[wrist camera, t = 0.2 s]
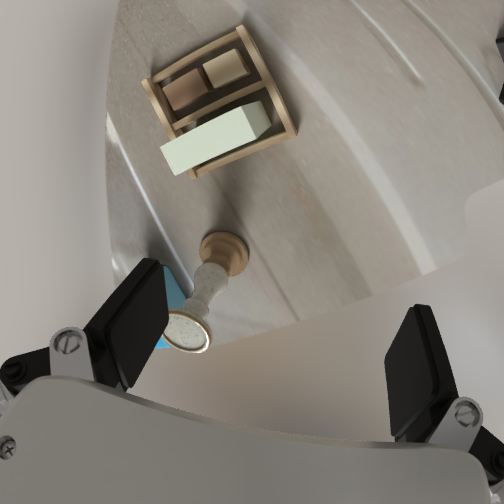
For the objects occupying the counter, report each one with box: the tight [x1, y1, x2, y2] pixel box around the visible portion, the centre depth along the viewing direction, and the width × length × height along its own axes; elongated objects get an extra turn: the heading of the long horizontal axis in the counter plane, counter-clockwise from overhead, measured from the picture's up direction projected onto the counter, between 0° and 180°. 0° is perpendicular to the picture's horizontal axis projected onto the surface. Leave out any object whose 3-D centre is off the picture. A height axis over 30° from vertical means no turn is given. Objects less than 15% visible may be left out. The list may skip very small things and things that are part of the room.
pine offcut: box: [203, 49, 251, 88], centre depth 38 cm, size 4×5×3 cm
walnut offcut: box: [162, 68, 214, 110], centre depth 40 cm, size 4×6×3 cm, turn 115°
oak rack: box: [141, 25, 298, 180], centre depth 40 cm, size 18×17×3 cm
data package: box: [155, 266, 186, 348], centre depth 57 cm, size 12×4×12 cm, turn 22°
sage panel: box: [160, 101, 272, 175], centre depth 38 cm, size 4×11×12 cm, turn 115°
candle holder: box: [161, 232, 249, 354], centre depth 46 cm, size 9×9×20 cm
